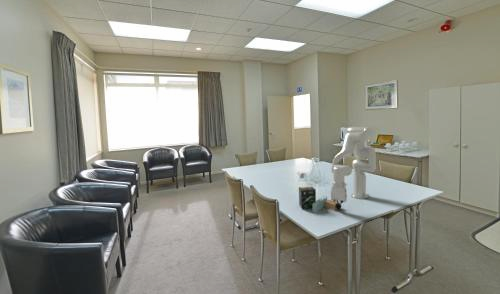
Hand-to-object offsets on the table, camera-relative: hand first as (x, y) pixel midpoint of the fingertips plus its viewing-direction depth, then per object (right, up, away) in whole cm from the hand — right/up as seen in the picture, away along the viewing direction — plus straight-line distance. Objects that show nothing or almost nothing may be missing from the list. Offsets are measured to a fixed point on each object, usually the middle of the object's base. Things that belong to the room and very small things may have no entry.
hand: (338, 208), depth 173 cm
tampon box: (-20, -2, +12) cm, 23 cm away
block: (-2, -1, +7) cm, 7 cm away
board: (-11, -1, +8) cm, 14 cm away
